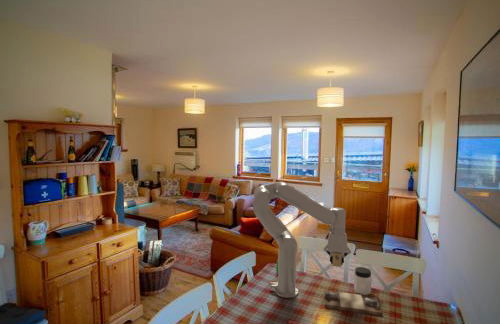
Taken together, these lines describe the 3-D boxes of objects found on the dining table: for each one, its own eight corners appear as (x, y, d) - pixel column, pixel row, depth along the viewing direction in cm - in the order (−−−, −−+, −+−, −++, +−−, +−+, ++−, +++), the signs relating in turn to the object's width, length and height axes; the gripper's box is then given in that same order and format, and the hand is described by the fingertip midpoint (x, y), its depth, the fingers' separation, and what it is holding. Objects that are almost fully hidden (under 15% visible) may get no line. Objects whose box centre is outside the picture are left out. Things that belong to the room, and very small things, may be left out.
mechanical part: (284, 275, 176) (285, 262, 176) (276, 272, 180) (276, 260, 179) (294, 269, 186) (294, 256, 185) (285, 266, 189) (286, 254, 189)
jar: (362, 296, 152) (362, 274, 152) (350, 289, 159) (351, 268, 159) (374, 292, 156) (374, 271, 156) (362, 286, 163) (363, 265, 163)
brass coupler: (332, 266, 155) (332, 253, 155) (332, 261, 161) (332, 249, 161) (341, 267, 154) (341, 254, 153) (340, 262, 160) (341, 250, 160)
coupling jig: (324, 307, 142) (324, 298, 141) (324, 293, 155) (324, 285, 155) (381, 315, 135) (382, 306, 135) (376, 300, 149) (376, 292, 148)
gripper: (321, 231, 155) (320, 264, 156) (355, 234, 151) (353, 268, 152) (321, 227, 162) (320, 259, 163) (353, 230, 158) (352, 262, 159)
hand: (336, 263), depth 157 cm, fingers closed on brass coupler, 4 cm apart
